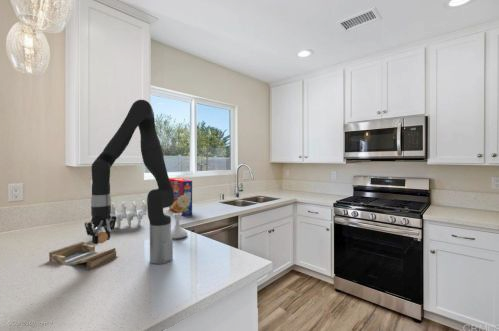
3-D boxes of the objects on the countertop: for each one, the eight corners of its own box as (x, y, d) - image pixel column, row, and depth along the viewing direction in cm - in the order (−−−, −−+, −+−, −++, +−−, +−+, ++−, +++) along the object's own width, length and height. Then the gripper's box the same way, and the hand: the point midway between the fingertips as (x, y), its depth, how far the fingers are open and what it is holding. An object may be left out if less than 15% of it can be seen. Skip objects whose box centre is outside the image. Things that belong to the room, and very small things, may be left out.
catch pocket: (94, 251, 122) (94, 243, 122) (62, 264, 108) (62, 255, 108) (82, 249, 125) (82, 241, 125) (49, 261, 111) (49, 252, 111)
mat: (119, 257, 116) (119, 255, 116) (88, 271, 102) (88, 269, 102) (82, 249, 125) (82, 248, 125) (49, 261, 111) (49, 259, 111)
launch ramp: (116, 260, 115) (116, 248, 115) (91, 271, 104) (91, 258, 103) (95, 255, 120) (95, 244, 119) (69, 265, 108) (69, 253, 108)
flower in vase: (166, 241, 139) (166, 197, 138) (167, 234, 150) (167, 194, 149) (190, 239, 142) (190, 196, 141) (189, 233, 153) (190, 193, 152)
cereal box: (169, 209, 217) (169, 178, 216) (177, 208, 222) (177, 178, 221) (182, 216, 196) (182, 181, 195) (192, 214, 201) (192, 180, 200)
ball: (102, 240, 113) (102, 229, 113) (110, 242, 111) (110, 231, 111) (92, 243, 109) (92, 232, 108) (100, 245, 107) (100, 234, 107)
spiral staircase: (105, 234, 162) (146, 227, 174) (103, 229, 147) (148, 222, 159) (103, 207, 167) (143, 202, 179) (102, 200, 153) (145, 195, 165)
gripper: (109, 200, 117) (109, 235, 118) (79, 206, 104) (79, 246, 105) (121, 202, 115) (121, 238, 115) (91, 208, 101) (91, 248, 102)
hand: (101, 241), depth 110 cm, fingers closed on ball, 5 cm apart
